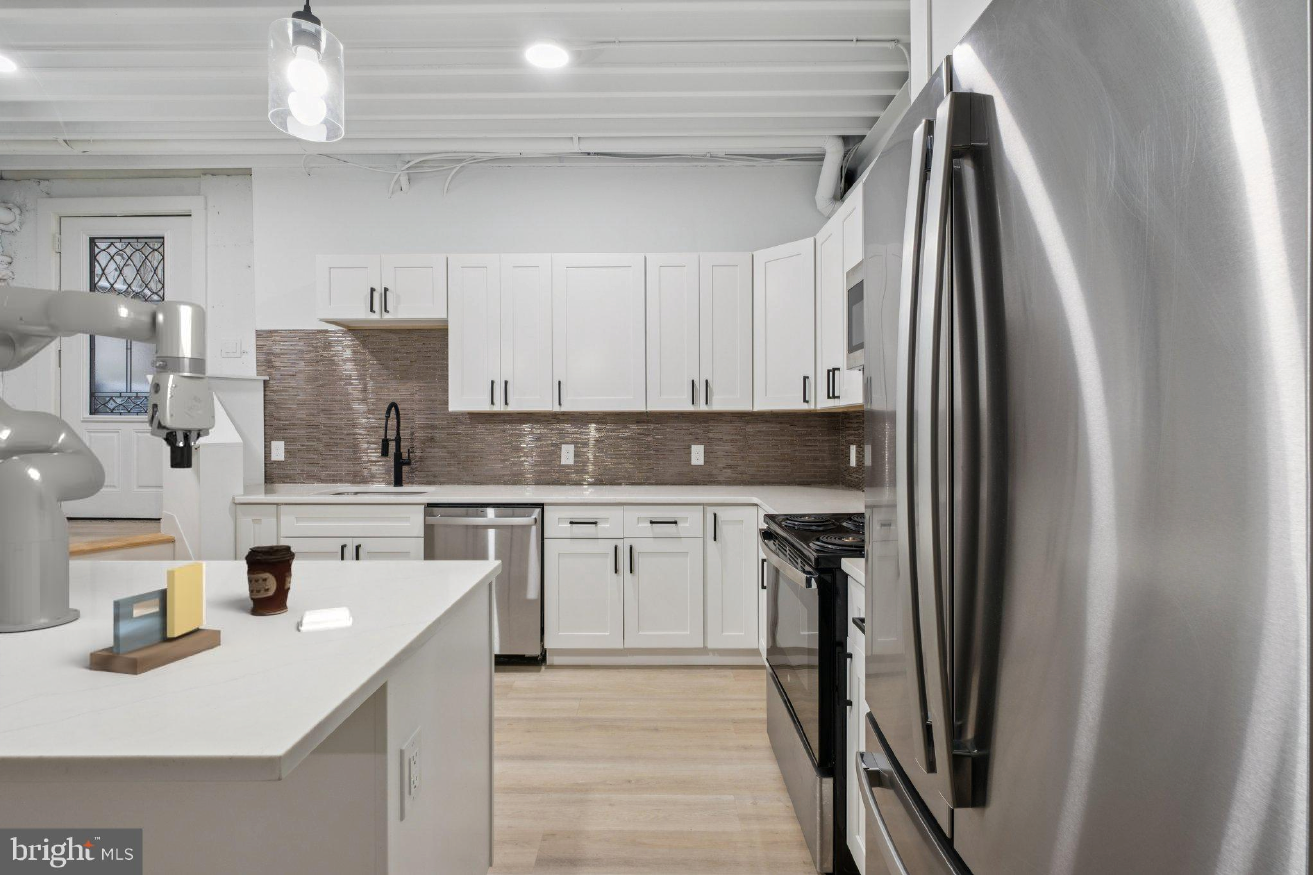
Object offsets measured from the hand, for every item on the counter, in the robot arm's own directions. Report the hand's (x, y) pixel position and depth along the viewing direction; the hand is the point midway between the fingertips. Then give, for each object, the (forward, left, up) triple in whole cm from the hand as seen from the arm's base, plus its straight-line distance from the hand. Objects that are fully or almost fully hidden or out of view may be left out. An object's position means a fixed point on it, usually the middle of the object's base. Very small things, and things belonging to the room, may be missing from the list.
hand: (181, 467), depth 122 cm
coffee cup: (+9, +11, -29) cm, 33 cm away
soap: (+26, +6, -30) cm, 40 cm away
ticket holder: (+13, -15, -29) cm, 35 cm away
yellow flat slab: (+15, -12, -26) cm, 32 cm away
